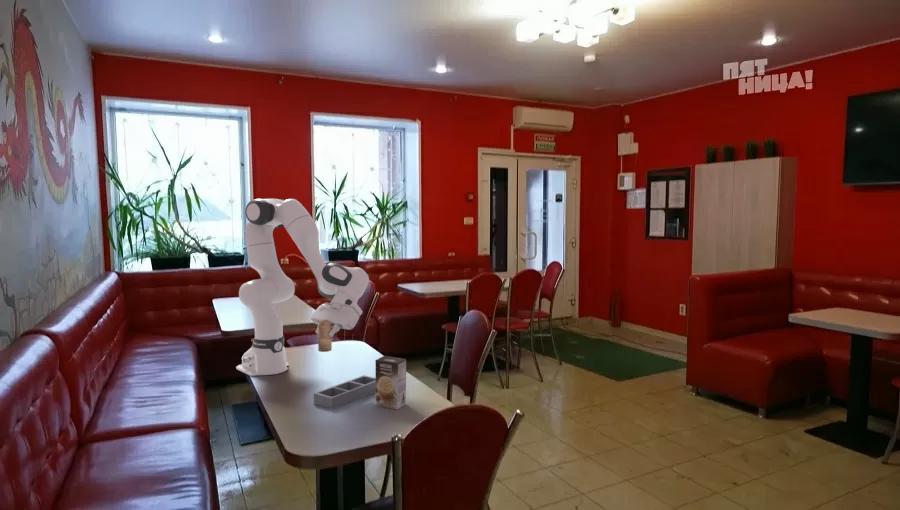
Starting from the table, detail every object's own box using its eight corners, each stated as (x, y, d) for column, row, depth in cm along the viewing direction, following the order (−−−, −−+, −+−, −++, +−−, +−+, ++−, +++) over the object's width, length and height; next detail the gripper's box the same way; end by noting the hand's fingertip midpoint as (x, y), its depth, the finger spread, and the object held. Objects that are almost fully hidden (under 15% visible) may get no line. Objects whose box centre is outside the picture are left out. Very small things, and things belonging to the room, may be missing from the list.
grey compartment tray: (313, 403, 185) (313, 393, 185) (363, 384, 206) (363, 375, 206) (332, 409, 180) (331, 398, 180) (381, 389, 201) (381, 379, 201)
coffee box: (374, 405, 184) (374, 359, 182) (384, 399, 189) (384, 355, 188) (397, 410, 180) (397, 363, 179) (407, 403, 186) (406, 358, 184)
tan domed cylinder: (315, 350, 198) (315, 320, 197) (325, 347, 202) (324, 317, 201) (324, 352, 195) (324, 321, 194) (334, 349, 199) (333, 319, 198)
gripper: (319, 297, 209) (299, 326, 201) (357, 302, 197) (338, 333, 190) (327, 306, 213) (309, 335, 206) (366, 312, 201) (347, 343, 194)
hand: (323, 334), depth 198 cm, fingers closed on tan domed cylinder, 5 cm apart
